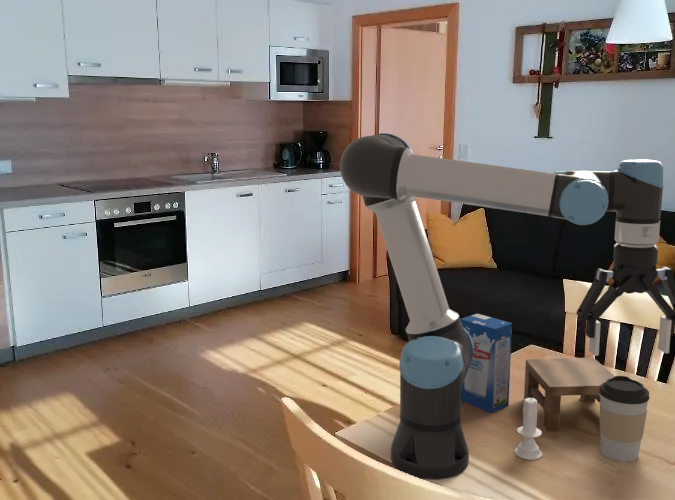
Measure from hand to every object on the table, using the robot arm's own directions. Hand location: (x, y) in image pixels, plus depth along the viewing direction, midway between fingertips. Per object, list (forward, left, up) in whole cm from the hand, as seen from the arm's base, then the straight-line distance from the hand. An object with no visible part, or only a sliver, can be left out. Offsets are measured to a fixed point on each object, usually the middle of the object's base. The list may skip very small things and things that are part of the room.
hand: (628, 352), depth 129 cm
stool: (-3, +18, -21) cm, 28 cm away
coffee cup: (0, 0, -21) cm, 21 cm away
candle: (-18, +1, -21) cm, 28 cm away
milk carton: (-21, +25, -21) cm, 39 cm away
